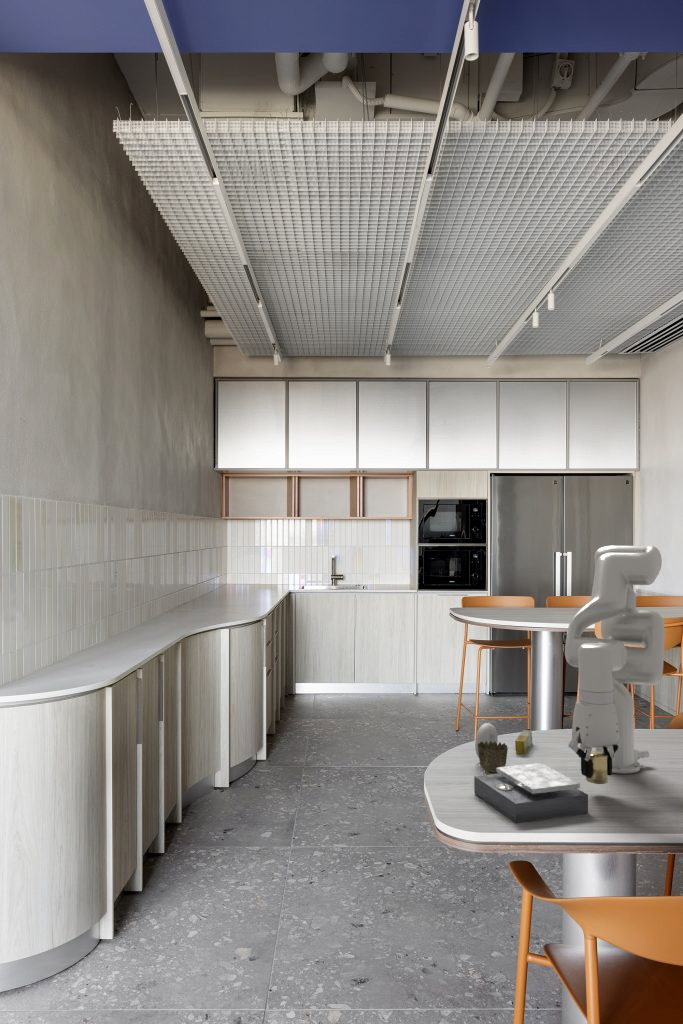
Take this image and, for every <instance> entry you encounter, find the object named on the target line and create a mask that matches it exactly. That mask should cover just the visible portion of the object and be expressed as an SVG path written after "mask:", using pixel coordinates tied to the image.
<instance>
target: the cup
mask: <svg viewBox="0 0 683 1024" xmlns="http://www.w3.org/2000/svg"><path fill="white" fill-rule="evenodd" d="M508 748H509V746H508V745H507V744H506V743H505V742H504V743H501V741H499V743H498V742H497V743H496V742H495V741H494V743H493V742H492V741H490V742H489V745H488V743H487V741H486V742H485V744H484V743H483V742H482V741H481V742H480V744H479V743H478V753H479V758H478V760H479V763H480V767H481V768H482V769H483V770H484V771H485V772H484V775H490V774H499V773H498V772H497V771H496V768H497V767H506V766H507V765H506V764H507V759H508V758H507V757H508Z"/></svg>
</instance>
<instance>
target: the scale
mask: <svg viewBox="0 0 683 1024" xmlns="http://www.w3.org/2000/svg"><path fill="white" fill-rule="evenodd" d="M473 778H474V779H473V781H474V783H473V785H474V787H473V788H474V789H473V791H474V793H475V795H476V796H477V797H478V798H480V799H481V798H482V799H481V800H483V801H484V802H485V803H487V804H488V805H490V806H491V807H493V808H494V809H496V810H497V811H498V812H500V813H501V814H502V815H504V816H505V817H507V819H510V820H511V821H512V822H514V823H515V824H519V823H526V822H534V821H540V820H541V821H543V820H548V819H554V818H555V819H557V818H564V817H571V816H578V815H586V814H589V794H587V793H585V792H584V791H582V790H581V789H580V788H578V789H569V790H561V791H552V792H544V793H536V794H532V793H530V792H528V791H527V790H525V789H524V788H522V787H520V786H519V785H517V784H515V783H514V782H512V781H511V780H509V779H507V778H506V777H504V776H502V775H501V774H490V775H486V774H482V775H474V777H473Z"/></svg>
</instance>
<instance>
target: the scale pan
mask: <svg viewBox="0 0 683 1024" xmlns="http://www.w3.org/2000/svg"><path fill="white" fill-rule="evenodd" d="M496 771H497V772H498V773H499V774H501V775H502V776H504V777H506V778H507V779H509V780H511V781H512V782H514V783H515V784H517V785H519V786H520V787H522V788H524V789H525V790H527V791H528V792H530V793H532V794H536V793H544V792H552V791H561V790H569V789H581V783H580V782H579V781H575V780H574V779H572V778H570V777H568V776H567V775H564V774H563V773H561V772H559V771H557V770H555V769H553V768H552V767H549V766H548V765H546V764H544V763H542V762H536V763H526V764H519V765H510V766H509V765H505V767H497V768H496Z"/></svg>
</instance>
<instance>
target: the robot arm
mask: <svg viewBox="0 0 683 1024" xmlns="http://www.w3.org/2000/svg"><path fill="white" fill-rule="evenodd" d="M662 559H663V558H662V553H661V551H660V550H659V549H658V547H656V546H654V545H605V546H602V547H600V548H598V549H597V550H596V551H595V553H594V565H595V567H594V568H595V569H594V577H593V583H592V590H591V595H590V596H591V597H590V601H589V602H587V603H586V604H585V605H583V606H582V607H581V608H580V609H579V610H578V611H577V612H576V613H575V614H574V616H573V617H572V619H571V620H570V622H569V623H568V628H567V633H566V639H565V646H564V657H565V660H566V662H567V663H568V665H569V666H571V667H574V668H578V701H575V705H574V709H573V714H572V728H571V729H572V730H571V740H570V742H569V743H568V745H567V746H568V748H570V749H571V750H572V751H573V752H574V753H575V754H576V755H577V756H578V758H580V772H581V775H582V776H584V777H585V778H586V777H588V778H592V761H591V760H590V756H591V751H592V749H593V748H595V751H596V752H602V753H605V754H607V767H608V776H609V777H610V776H613V774H624V775H625V774H635V773H638V772H639V771H641V766H642V765H641V763H640V762H639V760H640V759H646V758H650V752H649V750H647V749H644V750H643V749H642V750H639V749H638V748H635V724H634V723H635V722H634V721H635V719H634V718H635V717H634V715H635V713H634V712H635V711H634V699H633V697H632V695H631V692H630V691H629V689H627V687H626V686H625V685H624V684H631V685H642V686H656V685H658V684H660V683H661V681H662V679H663V673H664V658H665V657H664V656H665V634H666V633H665V630H666V629H665V621H664V618H663V617H662V615H661V614H660V613H659V612H657V611H655V610H650V609H649V610H648V609H646V610H645V609H637V594H636V592H635V591H634V589H633V588H632V586H650V585H652V584H654V583H655V581H656V579H657V578H658V577H659V574H660V572H661V569H662V563H663V560H662ZM598 623H600V634H601V635H600V636H601V637H602V638H600V637H589V636H588V637H587V636H586V637H585V636H582V635H583V633H584V631H585V630H586V629H588V628H589V627H590V626H592V625H594V624H598ZM628 645H629V646H628ZM579 744H580V745H579ZM578 745H579V746H578Z"/></svg>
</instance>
